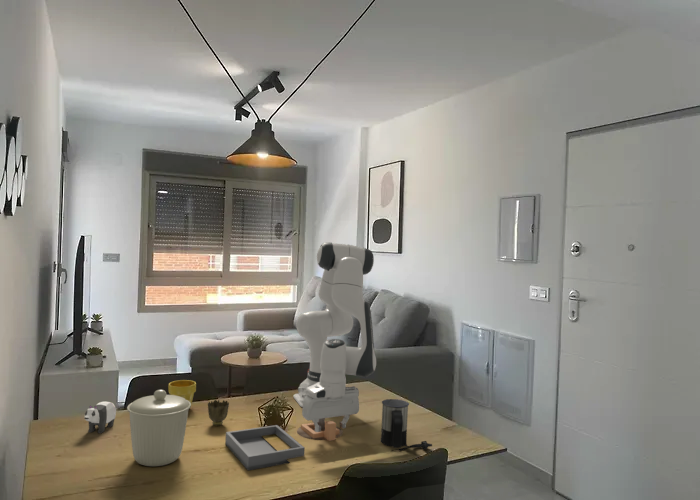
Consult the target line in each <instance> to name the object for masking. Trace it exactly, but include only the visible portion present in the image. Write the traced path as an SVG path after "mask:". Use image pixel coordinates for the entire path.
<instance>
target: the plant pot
mask: <svg viewBox="0 0 700 500" xmlns="http://www.w3.org/2000/svg"><path fill="white" fill-rule="evenodd" d="M167 387H168V393H169V395H175V396H180V397H182V398H184V399H186V400H188V401H189V402H190V403H191V405H192V403H193V398H194V394H195V393H196V392H197V383H196V381H194V380H191V379H190V380H189V379H188V380H187V379H180V380H174V381H171V382H169V383H168V386H167ZM191 407H192V406H191ZM191 407H190V408H189V409H191ZM189 409H188V410H189Z"/></svg>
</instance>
